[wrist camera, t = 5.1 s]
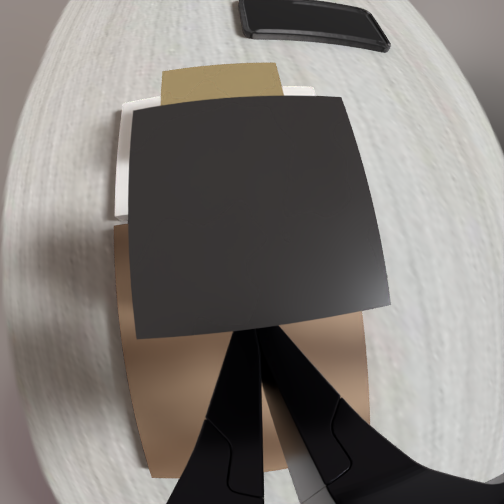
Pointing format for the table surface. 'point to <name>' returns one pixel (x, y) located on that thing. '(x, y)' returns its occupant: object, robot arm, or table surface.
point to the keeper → (220, 82)
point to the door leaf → (207, 371)
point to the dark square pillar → (249, 216)
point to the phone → (312, 23)
